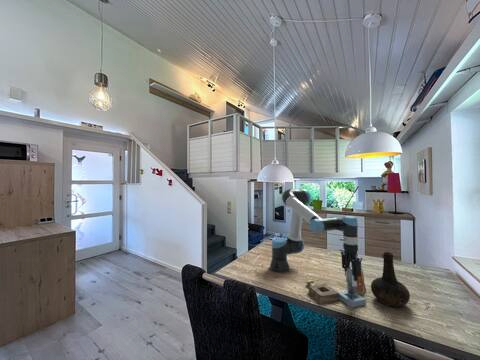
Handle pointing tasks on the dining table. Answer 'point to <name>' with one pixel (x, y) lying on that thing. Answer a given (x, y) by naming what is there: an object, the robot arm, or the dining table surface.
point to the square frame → (353, 302)
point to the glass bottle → (390, 285)
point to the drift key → (310, 283)
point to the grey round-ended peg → (350, 281)
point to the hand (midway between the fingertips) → (351, 283)
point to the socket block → (323, 293)
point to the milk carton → (360, 283)
